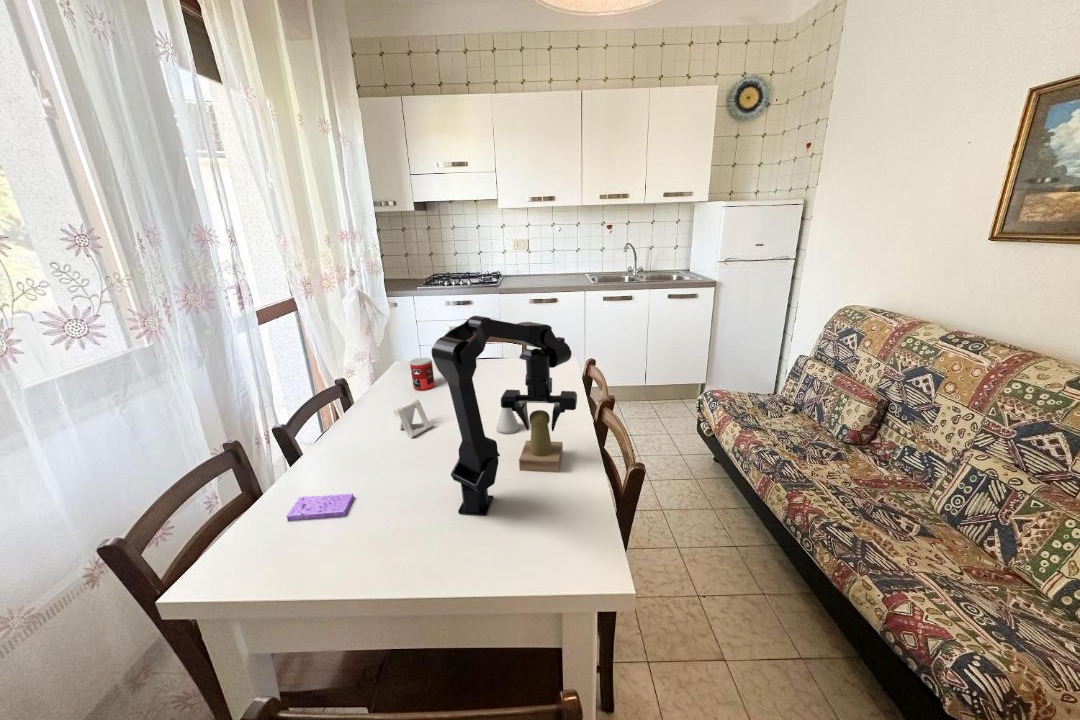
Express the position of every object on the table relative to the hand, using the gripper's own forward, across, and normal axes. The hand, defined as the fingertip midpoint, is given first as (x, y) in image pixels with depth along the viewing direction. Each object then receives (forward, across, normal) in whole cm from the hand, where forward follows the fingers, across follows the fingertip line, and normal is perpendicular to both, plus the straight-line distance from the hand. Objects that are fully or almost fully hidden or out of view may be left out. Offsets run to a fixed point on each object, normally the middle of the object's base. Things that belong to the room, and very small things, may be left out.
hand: (540, 429), depth 112 cm
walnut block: (+9, 0, 0) cm, 9 cm away
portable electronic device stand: (+9, +42, -14) cm, 45 cm away
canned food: (+9, +53, -48) cm, 72 cm away
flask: (+9, +13, -17) cm, 23 cm away
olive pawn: (+6, 0, 0) cm, 6 cm away
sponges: (+10, +47, +24) cm, 54 cm away
